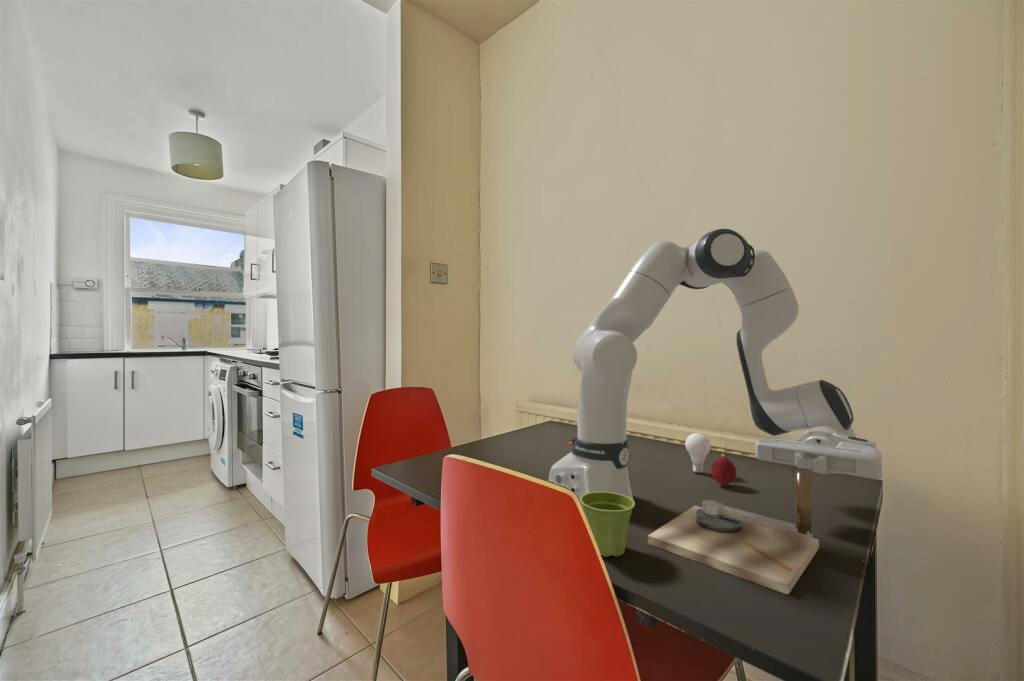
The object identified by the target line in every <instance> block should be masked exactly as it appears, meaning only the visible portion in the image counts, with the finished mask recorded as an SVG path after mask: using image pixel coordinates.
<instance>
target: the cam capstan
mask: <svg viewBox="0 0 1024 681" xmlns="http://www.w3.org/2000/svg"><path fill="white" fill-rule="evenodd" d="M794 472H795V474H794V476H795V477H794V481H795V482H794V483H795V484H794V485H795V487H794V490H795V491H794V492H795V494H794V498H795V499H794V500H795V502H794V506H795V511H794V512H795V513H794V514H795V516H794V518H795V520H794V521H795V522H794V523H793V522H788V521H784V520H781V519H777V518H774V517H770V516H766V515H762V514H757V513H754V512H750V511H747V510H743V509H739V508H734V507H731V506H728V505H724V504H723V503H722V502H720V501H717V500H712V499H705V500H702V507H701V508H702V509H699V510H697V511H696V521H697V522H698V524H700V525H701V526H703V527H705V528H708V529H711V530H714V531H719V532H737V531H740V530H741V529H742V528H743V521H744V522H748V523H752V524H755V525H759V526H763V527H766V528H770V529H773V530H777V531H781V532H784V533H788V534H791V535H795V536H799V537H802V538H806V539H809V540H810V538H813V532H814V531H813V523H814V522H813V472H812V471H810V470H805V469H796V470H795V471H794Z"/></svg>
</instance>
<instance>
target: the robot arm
mask: <svg viewBox="0 0 1024 681" xmlns="http://www.w3.org/2000/svg"><path fill="white" fill-rule="evenodd" d="M717 284H723V285H724V286H726V287H727V288H728V289H729V290H730V291H731V293H732V294H733V296H734V298H735V300H736V304H737V306H738V307H739V308H738V309H739V311H740V313H741V319H742V320H741V321H742V322H741V327H740V329H739V330H738V331H737V332H736V339H735V340H736V347H737V352H738V356H739V361H740V365H741V366H740V367H741V370H742V373H743V377H744V381H745V387H746V390H747V394H748V400H749V406H750V413H751V417H752V421H753V422H754V425H755V427H756V428H757V429H759V430H761V431H762V432H764V433H766V434H768V435H771V436H774V437H769V438H767V437H766V438H763V439H759V440H758V441H755V444H754V454H755V455H754V456H755V459H757V460H759V461H762V462H763V461H764V462H769V463H777V464H781V465H789V466H793V467H794V466H795V467H796V468H797V469H799V470H805V471H810V472H812V473H817V474H821V475H831V474H838V475H839V474H842V475H849V476H853V477H854V476H855V477H859V478H860V477H861V478H867V479H871V480H881V479H882V478H883V458H882V453H881V451H880V449H878V448H877V443H876V442H875V441H873V440H870V439H866V438H865V439H864V438H860V437H857V435H856V433H855V431H854V428H853V427H852V425H853V423H854V414H853V410H852V406H851V405H850V403H849V400H848V399H847V396H846V395H845V394H844V392H843V391H842V390H841V389H840V388H839V387H837V386H836V385H835V384H832V383H831V382H829V381H826V380H824V379H819V380H815V381H809V382H805V383H802V384H798V385H794V386H791V387H784V388H781V389H778V390H777V389H776V390H774V389H773V390H772V389H770V387H769V384H768V380H767V376H766V372H765V368H764V363H763V359H762V358H763V352H764V350H765V349H766V348H767V346H768V345H769V344H771V343H772V342H773V341H775V340H776V339H777V338H779V337H780V336H782V335H783V334H784V333H785V332H787V330H789V329H790V327H792V325H793V324H794V323H795V321H797V318H798V315H799V309H800V308H799V303H798V299H797V297H796V295H795V294H796V293H795V291H794V289H793V288H792V285H791V284H790V282H789V280H788V278H787V275H785V272H784V271H783V269H782V268H781V267H780V265H779V264H778V263H777V261H776V260H775V258H774V256H772V254H770V253H769V252H768V251H766V250H763V249H762V250H761V249H754V247H753V246H752V245H751V244H749V242H748V241H747V240H746V239H745V238H744V237H743V235H741V234H740V233H739V232H737V231H736V230H733V229H730V228H719V229H714V230H711V231H709V232H707V233H705V234H704V235H702V236H701V237H700V238H698V239H696V240H695V241H693V242H692V243H690V245H688V246H686V247H682V246H679V245H678V244H676V243H674V242H671V241H667V240H659V241H656V242H654V243H652V244H651V245H650V246H649V247H648V248H647V249H646V250H645V251H644V252H643V253H642V254H641V255H640V256H639V258H638V259H637V260H636V261H635V263H634V264H633V265H632V266H631V267H630V269H629V270H628V272H627V273H626V275H625V276H624V278H623V279H622V281H621V282H620V284H619V285H618V286H617V288H616V289H615V291H614V292H613V294H612V296H611V297H610V298H609V299H608V301H607V302H606V303H605V305H604V306H603V307H602V308H601V309H600V311H599V312H597V315H595V317H594V318H593V319H592V320H591V322H590V323H589V325H587V327H586V328H585V329H584V331H583V332H582V333H581V335H580V336H579V338H578V339H576V341H575V343H574V345H573V346H572V359H573V362H574V364H575V366H576V367H577V369H578V370H579V371H580V372H581V374H582V375H581V383H580V392H579V397H578V402H577V408H576V409H577V422H576V423H577V436H575V437H574V438H572V439H569V440H567V441H568V443H567V445H568V446H572V447H571V450H570V452H568V454H566V455H565V456H563V457H561V459H559V460H558V461H556V462H555V463H554V464H552V466H551V467H550V471H549V474H548V481H550V482H553V483H555V484H558V485H561V486H564V487H566V488H568V489H570V490H572V491H573V492H574V493H575V494H576V495H577V496H578V498H579V500H580V498H581V496H582V495H584V494H586V493H590V492H613V493H618V494H622V495H625V496H627V497H629V498H631V499H632V500H633V501H634V502H635V500H634V497H633V493H632V489H631V485H630V483H631V482H630V479H629V478H630V477H629V470H628V465H629V457H630V456H629V452H630V451H629V440H628V438H627V405H628V397H629V393H630V392H629V391H630V386H631V381H632V375H633V371H634V369H635V367H636V364H637V360H638V351H637V349H636V345H635V344H634V343H635V341H636V340H637V339H638V338H639V337H640V336H641V335H642V334H643V333H644V332H645V331H647V330H648V329H649V328H650V327H651V326H652V324H653V323H654V322H655V320H656V318H657V317H658V316H659V314H660V312H661V311H662V310H663V308H664V307H665V305H666V304H667V303H668V301H669V299H670V298H671V296H672V295H673V293H674V291H675V290H676V288H677V287H678V286H679V285H680V286H683V287H685V288H688V289H692V290H702V289H705V288H709V287H711V286H714V285H717ZM806 429H807V430H806ZM799 430H806V431H805V432H803V433H802V434H801V435H800V436H798V437H797V439H796V440H792V439H791V440H790V439H784V438H775V436H779V435H784V434H787V433H790V432H795V431H799ZM582 506H583V505H582Z"/></svg>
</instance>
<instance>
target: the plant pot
mask: <svg viewBox="0 0 1024 681" xmlns="http://www.w3.org/2000/svg"><path fill="white" fill-rule="evenodd" d="M580 502H581V504H582V505H583V509H584V511H583V512H584V515H586V517H585V519H586V518H587V520H588V523H589V525H590V527H591V530H592V532H593V535H594V537H595V539H596V542H597V544H598V546H599V549H600V552H601V555H602V556H601V557H606V558H608V557H611V556H613V557H615V558H616V557H620V556H622V555H624V553H625V551H626V545H627V539H628V531H629V527H630V526H629V525H630V520H631V519H630V518H631V516H632V513H633V509H634V508H635V506H636V502H635V500H634V501H633V500H632V499H631V498H629V497H627V496H625V495H622V494H618V493H613V492H590V493H586V494H584V495H582V496H581V498H580Z"/></svg>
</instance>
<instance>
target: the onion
mask: <svg viewBox="0 0 1024 681" xmlns="http://www.w3.org/2000/svg"><path fill="white" fill-rule="evenodd" d="M720 455H721V456H720V457H719V458H716V459H715V461H714V462H712V464H711V466H710V473H711V476H712V478H713V480H715V481H716V482H717V483H718V484H720V486H722V487H725V486H727V485H729V484H731V483H733V482H734V481H735V479H736V476H737V475H738V474H737V468H736V465H735V464H734V463H733V462H732V461H731V460H730V459H729V458H727V455H726V454H725V453H722V454H720Z"/></svg>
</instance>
